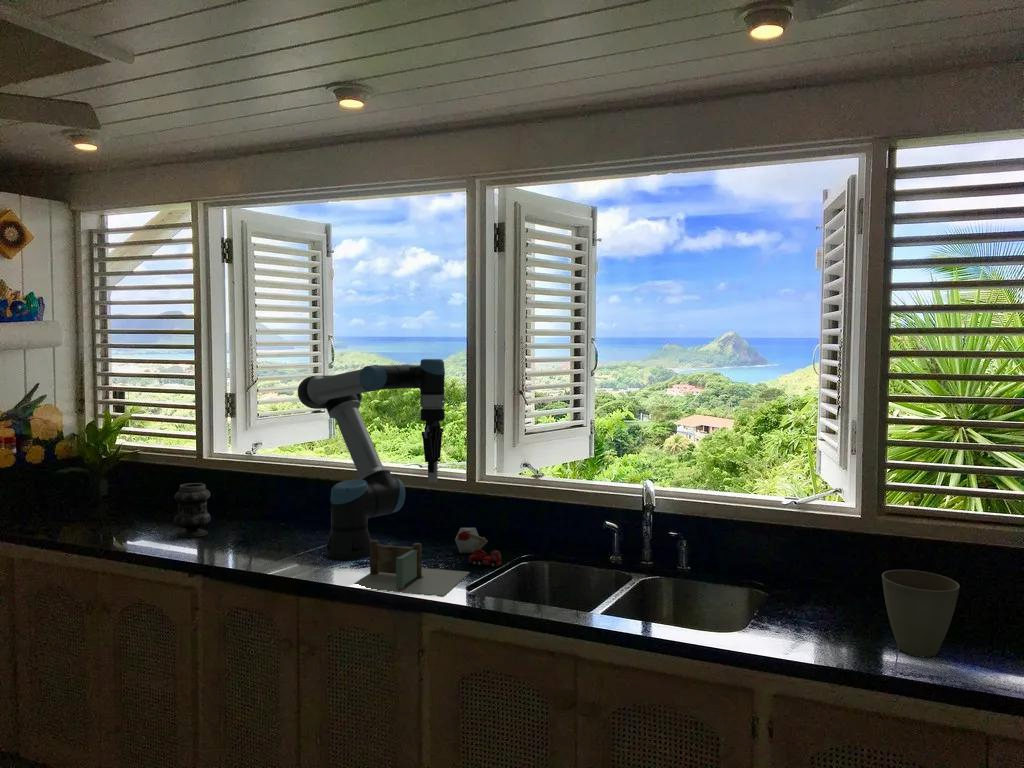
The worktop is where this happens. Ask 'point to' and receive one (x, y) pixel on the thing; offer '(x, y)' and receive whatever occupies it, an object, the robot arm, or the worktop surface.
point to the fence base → (391, 557)
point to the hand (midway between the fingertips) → (432, 482)
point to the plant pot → (919, 609)
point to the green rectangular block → (406, 568)
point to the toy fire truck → (480, 555)
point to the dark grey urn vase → (192, 509)
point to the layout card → (417, 582)
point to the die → (467, 541)
